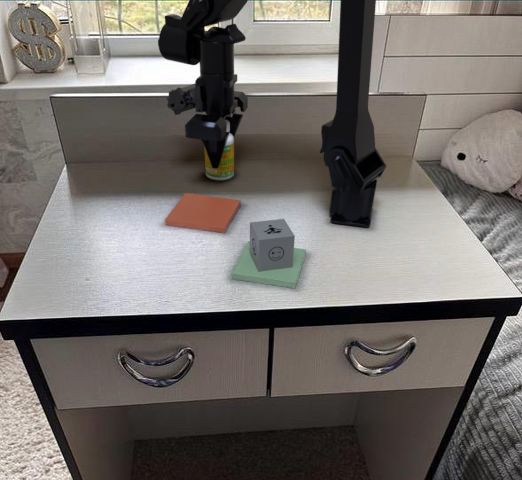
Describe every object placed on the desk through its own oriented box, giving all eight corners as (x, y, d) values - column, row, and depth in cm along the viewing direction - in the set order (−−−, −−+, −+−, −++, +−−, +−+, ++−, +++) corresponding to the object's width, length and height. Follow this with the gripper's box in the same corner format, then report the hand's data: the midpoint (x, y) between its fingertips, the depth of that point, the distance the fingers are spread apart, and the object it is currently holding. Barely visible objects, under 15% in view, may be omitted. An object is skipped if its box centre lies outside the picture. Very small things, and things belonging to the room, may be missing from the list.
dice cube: (258, 271, 73) (259, 240, 70) (249, 253, 77) (249, 222, 73) (292, 267, 74) (294, 235, 71) (282, 249, 78) (283, 218, 74)
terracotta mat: (240, 205, 90) (240, 200, 89) (224, 233, 83) (224, 227, 82) (185, 198, 92) (185, 192, 91) (165, 225, 84) (164, 219, 84)
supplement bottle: (221, 183, 96) (220, 129, 90) (199, 175, 99) (196, 122, 92) (239, 174, 100) (239, 121, 93) (218, 166, 102) (216, 115, 95)
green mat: (305, 255, 79) (306, 249, 78) (295, 288, 72) (295, 282, 71) (247, 246, 80) (247, 241, 79) (232, 278, 73) (231, 272, 73)
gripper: (189, 53, 95) (194, 139, 106) (150, 80, 82) (160, 177, 92) (248, 58, 93) (247, 145, 104) (218, 87, 80) (221, 184, 90)
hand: (219, 162), depth 98 cm, fingers closed on supplement bottle, 5 cm apart
